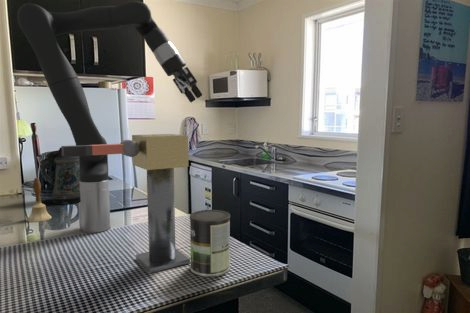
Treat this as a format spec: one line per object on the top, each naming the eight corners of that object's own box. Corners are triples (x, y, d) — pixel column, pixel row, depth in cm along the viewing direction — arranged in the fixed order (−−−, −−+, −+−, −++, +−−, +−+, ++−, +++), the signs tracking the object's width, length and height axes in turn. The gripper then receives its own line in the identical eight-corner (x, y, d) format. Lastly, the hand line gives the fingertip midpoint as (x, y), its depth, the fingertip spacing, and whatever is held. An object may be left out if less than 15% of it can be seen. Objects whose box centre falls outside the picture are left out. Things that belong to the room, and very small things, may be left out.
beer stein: (97, 199, 167) (95, 146, 165) (58, 207, 151) (55, 150, 148) (76, 195, 176) (74, 145, 173) (37, 202, 160) (34, 148, 157)
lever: (134, 155, 90) (134, 139, 90) (140, 156, 87) (139, 140, 86) (61, 159, 81) (60, 142, 80) (64, 161, 77) (63, 143, 77)
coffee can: (189, 277, 85) (188, 221, 83) (191, 260, 95) (190, 209, 94) (231, 276, 86) (231, 220, 84) (229, 259, 96) (228, 209, 94)
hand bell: (49, 221, 132) (46, 179, 130) (24, 223, 129) (21, 180, 127) (53, 215, 140) (51, 175, 138) (29, 217, 137) (27, 176, 135)
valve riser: (150, 273, 87) (146, 136, 84) (136, 258, 96) (131, 134, 93) (190, 263, 93) (188, 135, 90) (173, 250, 103) (170, 133, 99)
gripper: (156, 69, 125) (183, 108, 128) (164, 58, 111) (193, 101, 115) (174, 59, 127) (199, 97, 130) (183, 46, 114) (211, 89, 117)
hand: (196, 99), depth 122 cm, fingers open, 8 cm apart
